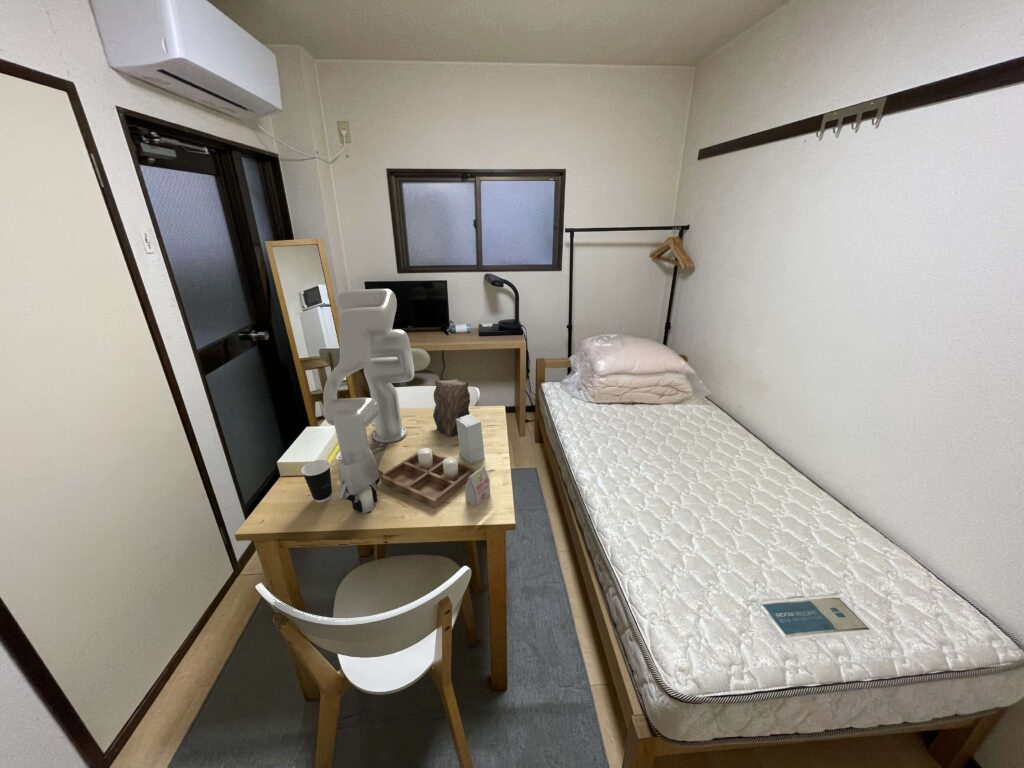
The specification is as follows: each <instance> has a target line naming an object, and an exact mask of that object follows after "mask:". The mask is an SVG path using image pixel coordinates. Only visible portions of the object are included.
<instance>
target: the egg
mask: <svg viewBox="0 0 1024 768" xmlns="http://www.w3.org/2000/svg"><path fill="white" fill-rule="evenodd" d="M359 500H360V501H361V505H362V510H363V511H362V512H361V514H362V513H368V512H370V511H372V510H374V508H375V502H374V500H373V495H372V489H371V487H370V486H367V487H366V488H364V489H363V490H361V491H359Z"/></svg>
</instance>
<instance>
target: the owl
mask: <svg viewBox="0 0 1024 768" xmlns="http://www.w3.org/2000/svg"><path fill="white" fill-rule="evenodd" d="M435 385H436V386H435V389H434V391H433V401H434V403H435V406H434V410H433V415H432V418H433V420H434V423H435V425H436V429H437V431H439V433H441V434H443V435H444V436H446V437H447V438H450V437H451V438H454V437H456V436H458V431H457V423H456V419H457V418H460V417H463V416H466V415H469V414H471V413H470V410H469V407H470V403H471V400H470V399H471V394H470V393H471V392H469V382H468V381H465V382H464V381H462V380H460V379H457V378H454V379H448V380H443V379H441V380H435Z"/></svg>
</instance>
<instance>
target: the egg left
mask: <svg viewBox="0 0 1024 768" xmlns="http://www.w3.org/2000/svg"><path fill="white" fill-rule="evenodd" d="M417 452H418V460H419V467H420V468H423V469H425V470H427V471H429V470H430V469H431V468H433V458H432V452H433V450H432V449H431V448H429V447H423V448H420V449H419V450H418V451H417Z"/></svg>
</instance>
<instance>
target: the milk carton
mask: <svg viewBox="0 0 1024 768" xmlns="http://www.w3.org/2000/svg"><path fill="white" fill-rule="evenodd" d="M490 482H491V481H490V478H489V475H488V473H487V470H486V466H484V465H483V466H481V468H479V469H478V470H476V472H475V473H474V474H472V475H471V476H469V477H468V481H467V483H466V484H465V485H464V491H465V494H464V495H465V502H466V503H469V504H471V505H473V506H474V507H476V506H477V505H479V504H480V503H481V502H483V500H485V499H486V498H488V497H489V496H490V495H491V483H490Z"/></svg>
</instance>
